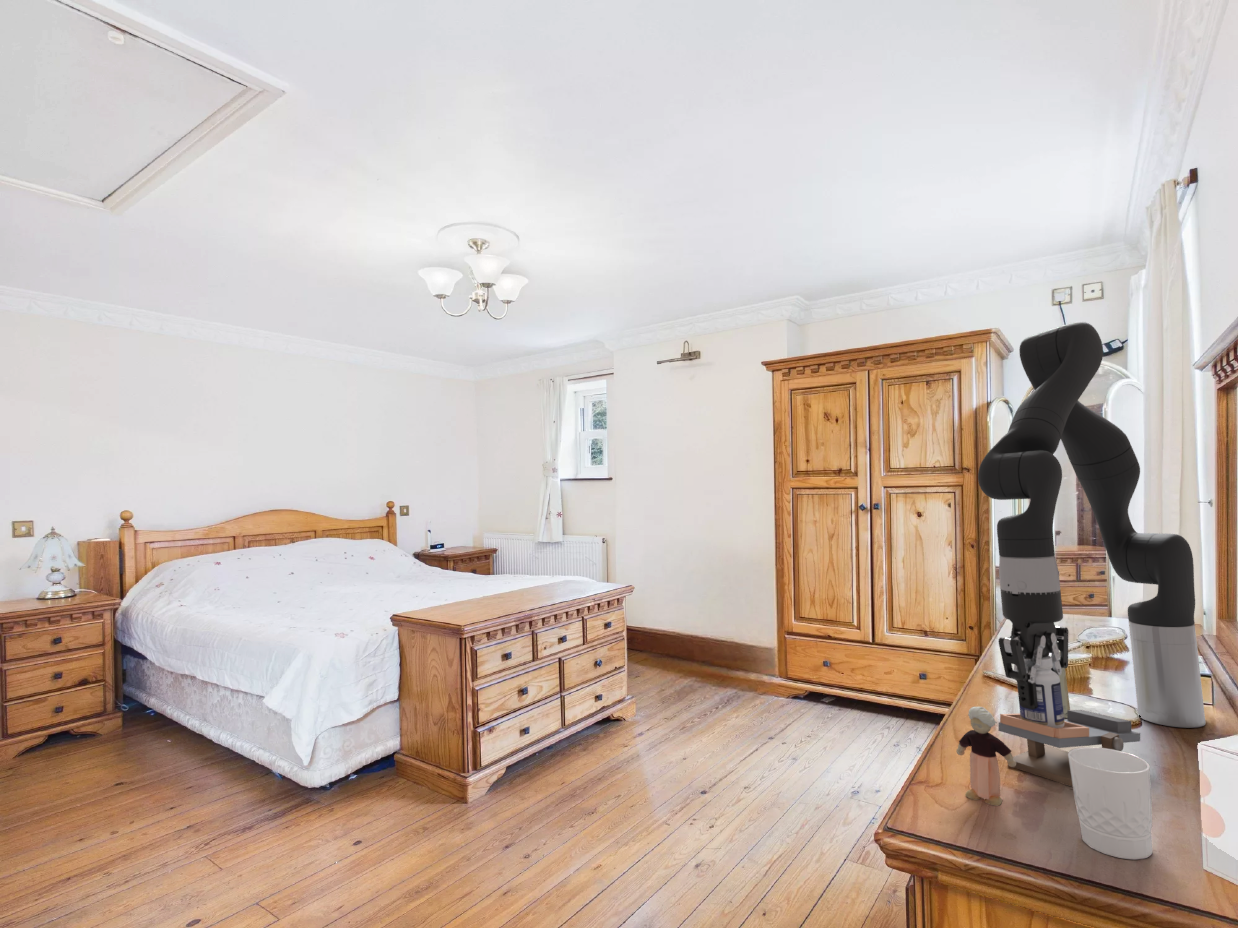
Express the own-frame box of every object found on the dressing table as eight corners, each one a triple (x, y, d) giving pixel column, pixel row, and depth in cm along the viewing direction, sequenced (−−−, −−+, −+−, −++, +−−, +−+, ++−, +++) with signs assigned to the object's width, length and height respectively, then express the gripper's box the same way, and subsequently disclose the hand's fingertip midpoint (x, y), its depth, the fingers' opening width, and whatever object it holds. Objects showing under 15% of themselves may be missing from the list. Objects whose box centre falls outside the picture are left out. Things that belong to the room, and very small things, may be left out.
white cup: (1164, 869, 72) (1155, 777, 72) (1078, 852, 76) (1069, 765, 77) (1152, 836, 78) (1144, 752, 79) (1073, 823, 83) (1066, 743, 83)
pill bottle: (1051, 717, 96) (1045, 651, 97) (1073, 730, 91) (1066, 660, 92) (1013, 718, 97) (1007, 652, 98) (1032, 731, 92) (1026, 661, 92)
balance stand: (1044, 750, 105) (1039, 706, 106) (1146, 780, 93) (1141, 730, 93) (1007, 765, 100) (1003, 719, 101) (1110, 799, 88) (1105, 746, 89)
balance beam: (1079, 726, 106) (1079, 708, 106) (1140, 741, 98) (1140, 722, 99) (998, 730, 96) (998, 711, 96) (1058, 747, 88) (1058, 726, 89)
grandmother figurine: (954, 798, 91) (947, 706, 92) (961, 788, 94) (953, 699, 95) (1018, 812, 86) (1009, 715, 87) (1022, 801, 89) (1014, 707, 90)
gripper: (1031, 579, 102) (1041, 688, 101) (975, 589, 95) (985, 707, 94) (1083, 583, 95) (1095, 700, 94) (1027, 594, 89) (1039, 720, 87)
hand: (1040, 703), depth 94 cm, fingers closed on pill bottle, 5 cm apart
